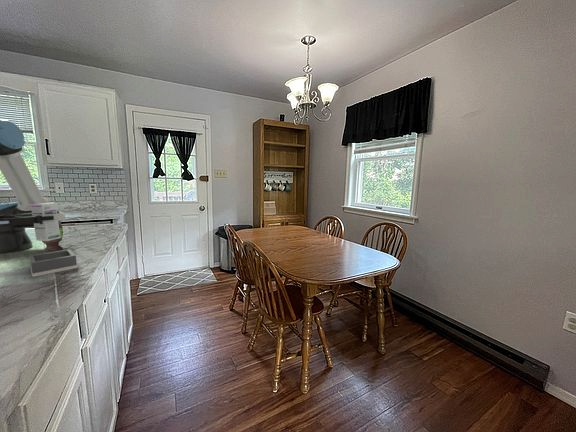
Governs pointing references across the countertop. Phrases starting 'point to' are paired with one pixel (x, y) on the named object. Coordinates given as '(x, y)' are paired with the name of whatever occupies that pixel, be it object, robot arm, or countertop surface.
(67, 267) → the box
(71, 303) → the countertop surface
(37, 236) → the syrup box
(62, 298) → the countertop surface
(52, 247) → the mortar and pestle
